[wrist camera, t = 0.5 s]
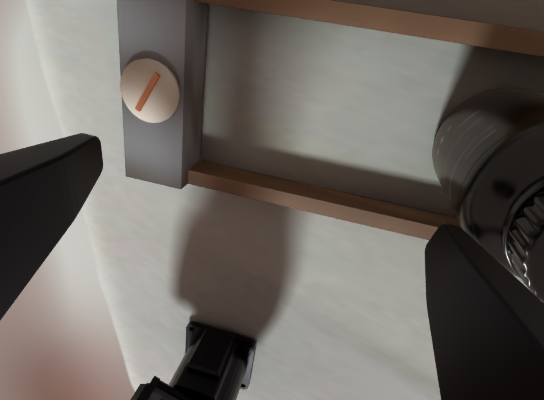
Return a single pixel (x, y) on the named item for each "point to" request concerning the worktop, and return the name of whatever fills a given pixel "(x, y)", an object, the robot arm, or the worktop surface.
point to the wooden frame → (190, 88)
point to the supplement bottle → (498, 177)
